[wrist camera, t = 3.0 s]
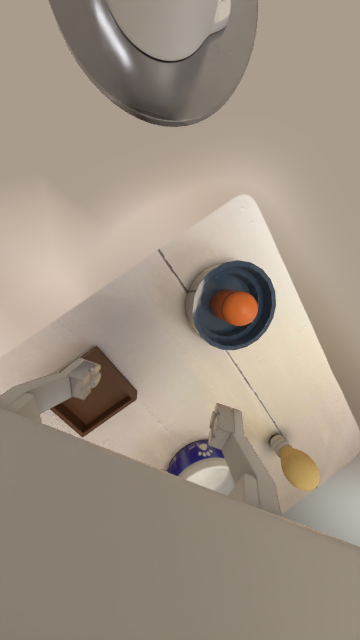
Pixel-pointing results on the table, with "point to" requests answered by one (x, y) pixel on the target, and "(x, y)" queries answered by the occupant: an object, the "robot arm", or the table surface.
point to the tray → (97, 397)
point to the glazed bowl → (235, 279)
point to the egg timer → (234, 307)
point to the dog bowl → (203, 467)
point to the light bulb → (296, 464)
